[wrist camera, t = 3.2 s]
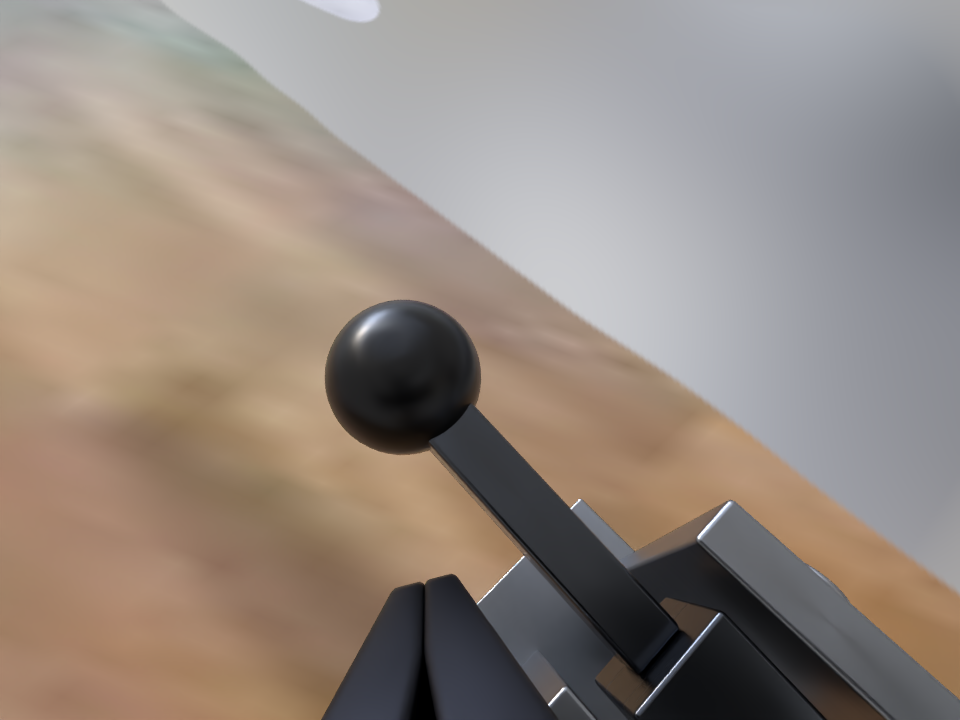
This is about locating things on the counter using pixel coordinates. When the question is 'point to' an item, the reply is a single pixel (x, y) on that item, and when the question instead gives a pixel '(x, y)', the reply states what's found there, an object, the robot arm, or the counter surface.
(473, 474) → the ball knob lever
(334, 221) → the counter surface
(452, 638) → the robot arm
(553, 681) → the bracket
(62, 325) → the counter surface
